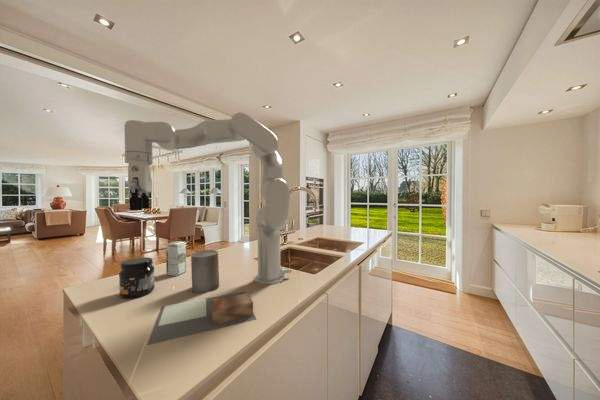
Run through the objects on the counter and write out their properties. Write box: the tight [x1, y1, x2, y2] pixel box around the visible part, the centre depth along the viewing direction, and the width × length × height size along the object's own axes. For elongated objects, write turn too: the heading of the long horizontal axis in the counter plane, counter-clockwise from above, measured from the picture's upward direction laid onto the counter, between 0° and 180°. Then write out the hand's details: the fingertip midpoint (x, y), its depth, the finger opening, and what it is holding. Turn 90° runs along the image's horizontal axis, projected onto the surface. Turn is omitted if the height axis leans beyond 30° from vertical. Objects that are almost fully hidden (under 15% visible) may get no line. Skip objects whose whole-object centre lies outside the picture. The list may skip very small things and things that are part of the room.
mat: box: [146, 291, 257, 346], centre depth 66 cm, size 26×20×1 cm
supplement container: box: [118, 256, 156, 299], centre depth 81 cm, size 10×10×12 cm
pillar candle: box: [190, 249, 220, 294], centre depth 85 cm, size 10×10×15 cm
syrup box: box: [165, 240, 187, 277], centre depth 101 cm, size 6×6×14 cm
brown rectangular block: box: [212, 292, 254, 325], centre depth 65 cm, size 11×6×4 cm, turn 114°
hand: (140, 209), depth 75 cm, fingers open, 9 cm apart
